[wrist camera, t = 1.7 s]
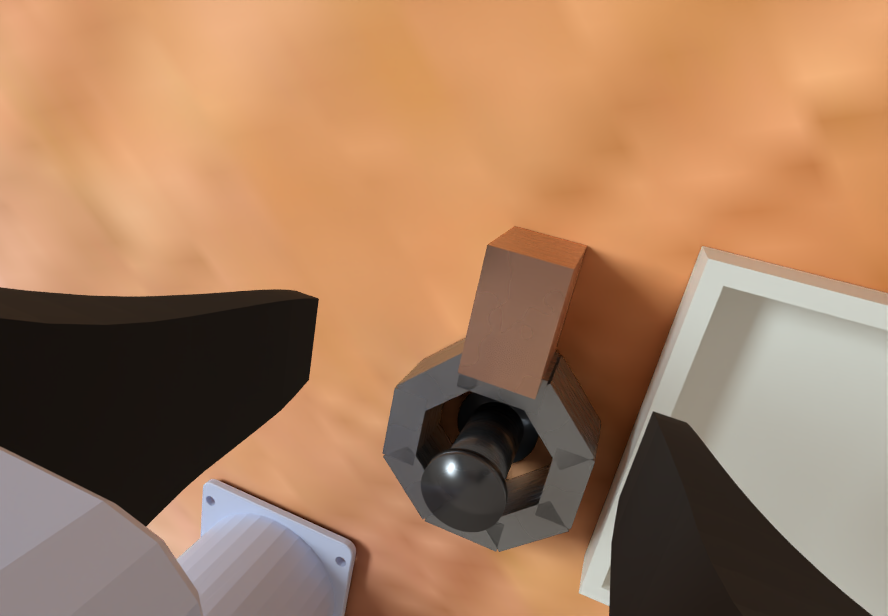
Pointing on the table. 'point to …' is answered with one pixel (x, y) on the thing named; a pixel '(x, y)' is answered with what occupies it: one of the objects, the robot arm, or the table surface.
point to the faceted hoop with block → (507, 388)
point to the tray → (779, 412)
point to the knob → (477, 464)
